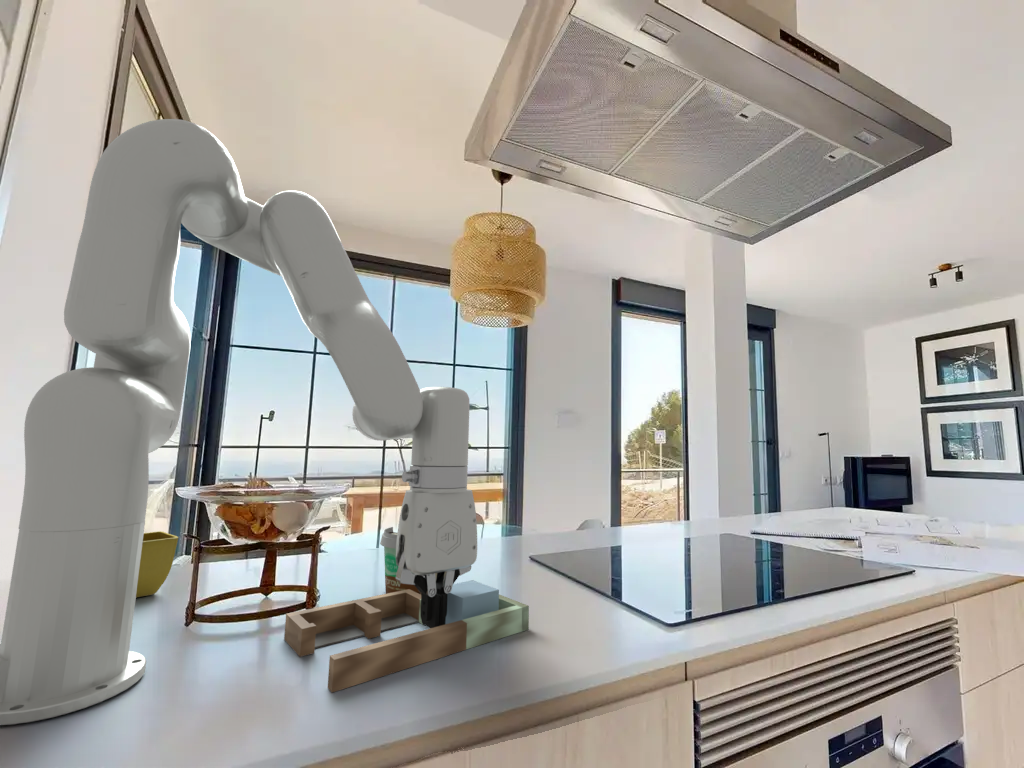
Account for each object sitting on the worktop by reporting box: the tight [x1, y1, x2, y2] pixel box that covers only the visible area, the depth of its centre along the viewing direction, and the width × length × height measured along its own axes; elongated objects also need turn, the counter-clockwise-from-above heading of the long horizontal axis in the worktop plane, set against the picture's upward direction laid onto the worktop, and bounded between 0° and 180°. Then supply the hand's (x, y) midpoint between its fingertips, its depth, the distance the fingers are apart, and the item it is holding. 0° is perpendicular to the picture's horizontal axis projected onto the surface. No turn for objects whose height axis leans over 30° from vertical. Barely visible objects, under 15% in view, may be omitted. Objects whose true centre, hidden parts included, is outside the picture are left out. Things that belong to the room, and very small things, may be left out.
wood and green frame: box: [283, 589, 530, 693], centre depth 60 cm, size 26×17×3 cm, turn 131°
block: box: [445, 579, 500, 624], centre depth 63 cm, size 6×6×5 cm
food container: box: [379, 526, 421, 594], centre depth 77 cm, size 12×6×10 cm, turn 62°
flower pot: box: [136, 530, 179, 598], centre depth 74 cm, size 9×9×9 cm
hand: (433, 625), depth 60 cm, fingers closed
